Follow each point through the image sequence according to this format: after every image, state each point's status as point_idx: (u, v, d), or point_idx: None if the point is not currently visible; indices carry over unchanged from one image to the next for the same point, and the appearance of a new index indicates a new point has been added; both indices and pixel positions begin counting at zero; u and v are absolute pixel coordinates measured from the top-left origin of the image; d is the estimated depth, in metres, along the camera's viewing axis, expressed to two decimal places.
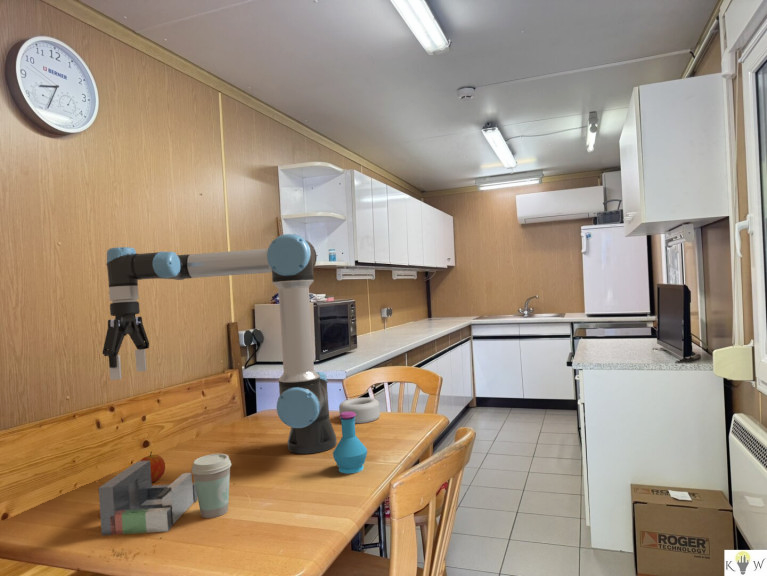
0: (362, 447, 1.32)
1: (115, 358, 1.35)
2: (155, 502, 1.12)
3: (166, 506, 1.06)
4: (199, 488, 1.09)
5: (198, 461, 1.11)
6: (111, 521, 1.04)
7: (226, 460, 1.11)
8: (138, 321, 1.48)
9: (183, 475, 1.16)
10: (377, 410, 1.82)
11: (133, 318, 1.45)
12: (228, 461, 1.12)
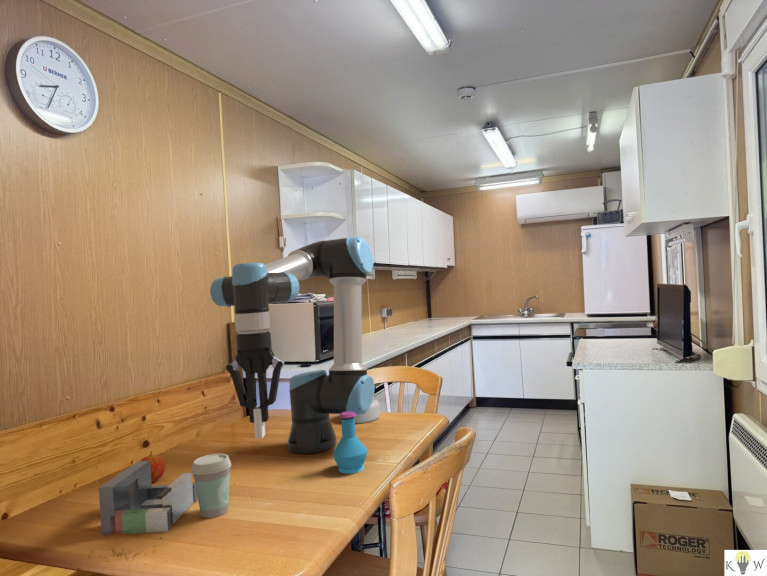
0: (362, 447, 1.32)
1: (252, 411, 1.11)
2: (155, 502, 1.12)
3: (166, 506, 1.06)
4: (199, 488, 1.09)
5: (198, 461, 1.11)
6: (111, 521, 1.04)
7: (226, 460, 1.11)
8: (275, 364, 1.11)
9: (183, 475, 1.16)
10: (377, 410, 1.82)
11: (266, 352, 1.11)
12: (228, 461, 1.12)
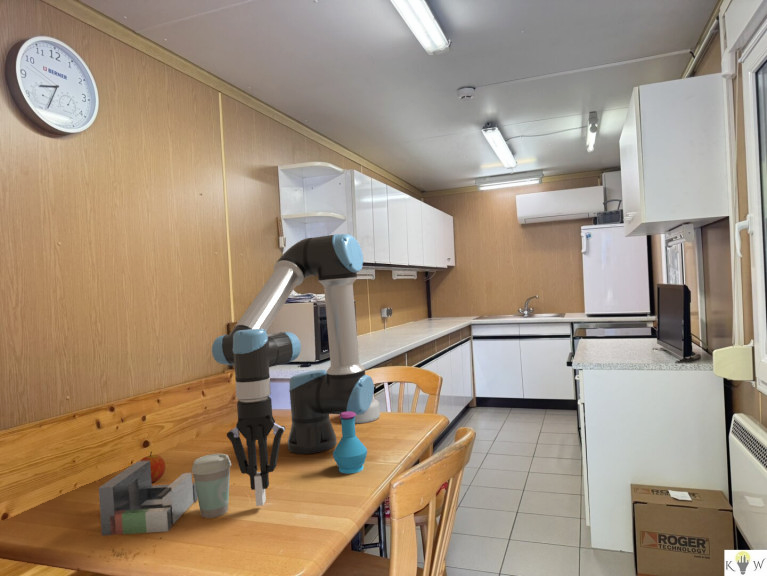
0: (362, 447, 1.32)
1: (253, 478, 1.11)
2: (155, 502, 1.12)
3: (166, 506, 1.06)
4: (199, 488, 1.09)
5: (198, 461, 1.11)
6: (111, 521, 1.04)
7: (226, 460, 1.11)
8: (275, 431, 1.11)
9: (183, 475, 1.16)
10: (377, 410, 1.82)
11: (266, 419, 1.10)
12: (228, 461, 1.12)
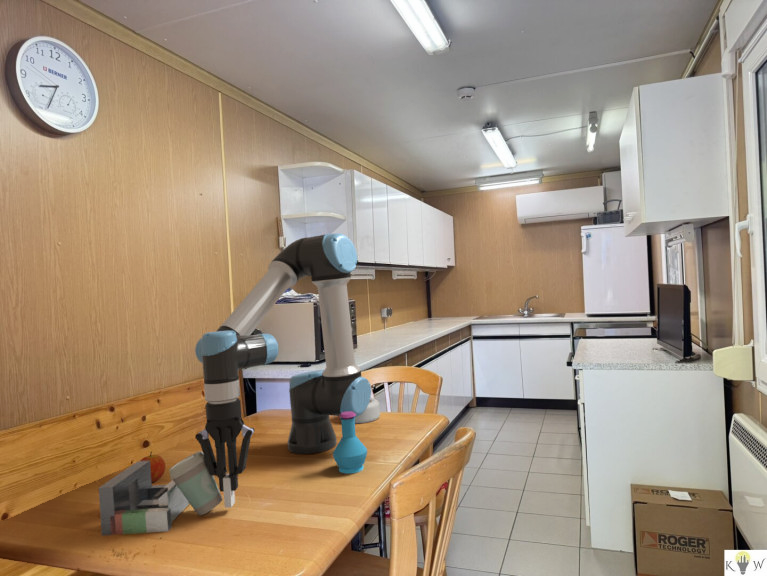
0: (362, 447, 1.32)
1: (222, 480, 1.11)
2: (152, 503, 1.12)
3: (162, 506, 1.06)
4: (183, 490, 1.09)
5: (174, 467, 1.11)
6: (111, 521, 1.04)
7: (198, 455, 1.11)
8: (244, 433, 1.11)
9: None
10: (377, 410, 1.82)
11: (235, 421, 1.11)
12: (201, 455, 1.12)
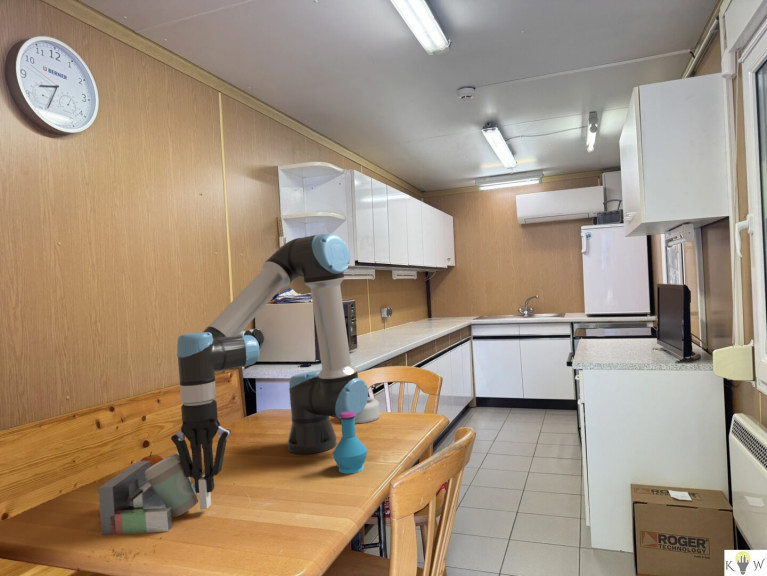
0: (362, 447, 1.32)
1: (197, 482, 1.11)
2: None
3: (137, 508, 1.07)
4: (158, 491, 1.09)
5: (150, 469, 1.11)
6: (111, 521, 1.04)
7: (174, 456, 1.11)
8: (220, 435, 1.11)
9: None
10: (377, 410, 1.82)
11: (211, 423, 1.11)
12: (178, 456, 1.12)
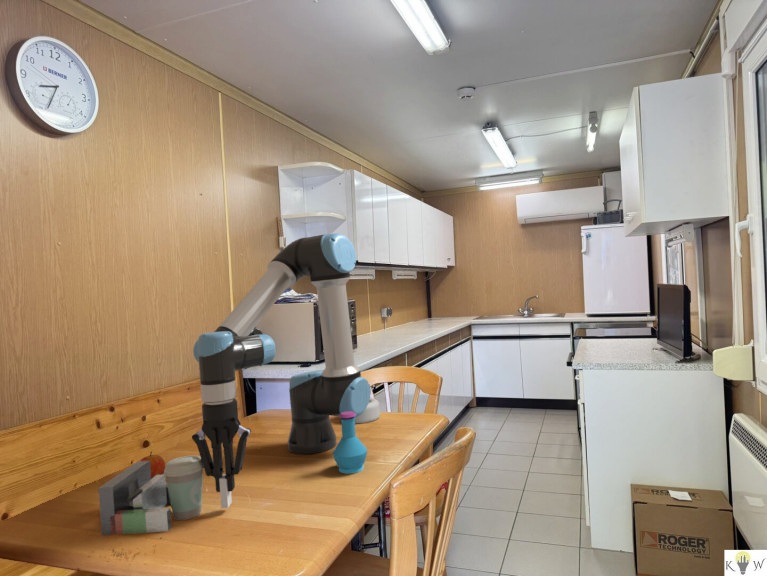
0: (362, 447, 1.32)
1: (218, 481, 1.11)
2: None
3: (137, 508, 1.07)
4: (171, 490, 1.09)
5: (171, 463, 1.11)
6: (111, 521, 1.04)
7: (199, 462, 1.11)
8: (240, 434, 1.11)
9: (156, 477, 1.16)
10: (377, 410, 1.82)
11: (231, 422, 1.11)
12: (201, 463, 1.12)
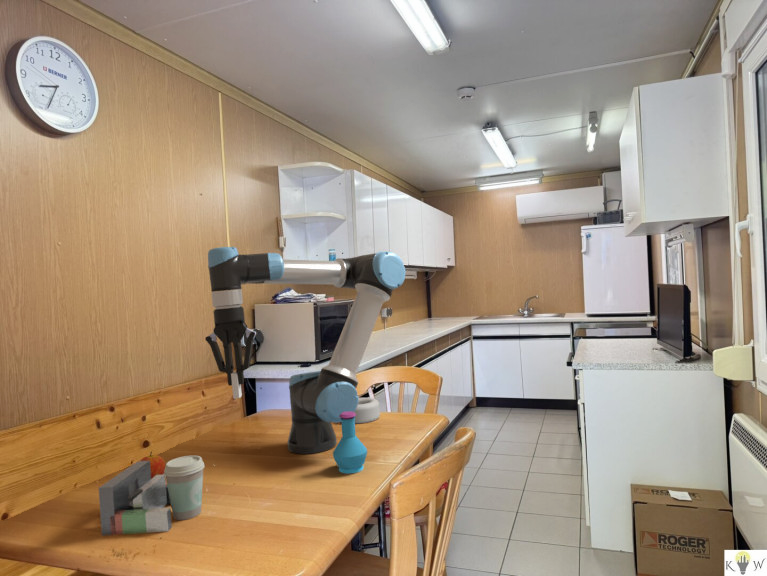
0: (362, 447, 1.32)
1: (230, 376, 1.28)
2: None
3: (137, 508, 1.07)
4: (171, 490, 1.09)
5: (171, 463, 1.11)
6: (111, 521, 1.04)
7: (199, 462, 1.11)
8: (248, 334, 1.28)
9: (156, 477, 1.16)
10: (377, 410, 1.82)
11: (240, 324, 1.28)
12: (201, 463, 1.12)
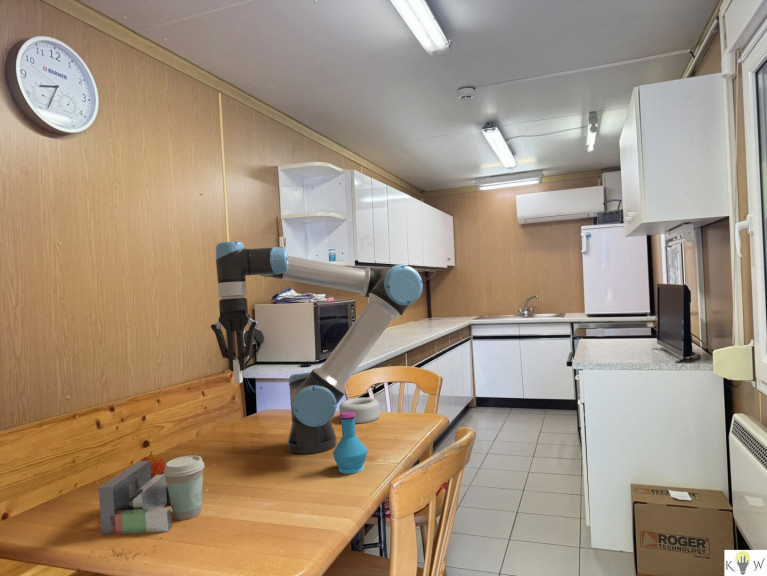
0: (362, 447, 1.32)
1: (232, 362, 1.37)
2: None
3: (137, 508, 1.07)
4: (171, 490, 1.09)
5: (171, 463, 1.11)
6: (111, 521, 1.04)
7: (199, 462, 1.11)
8: (250, 324, 1.37)
9: (156, 477, 1.16)
10: (377, 410, 1.82)
11: (243, 314, 1.37)
12: (201, 463, 1.12)
